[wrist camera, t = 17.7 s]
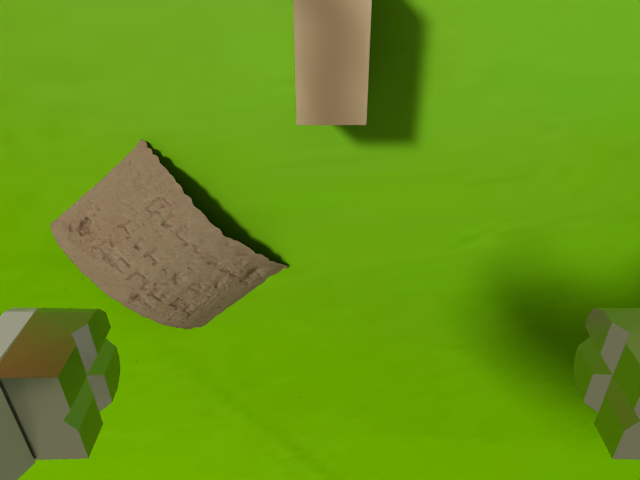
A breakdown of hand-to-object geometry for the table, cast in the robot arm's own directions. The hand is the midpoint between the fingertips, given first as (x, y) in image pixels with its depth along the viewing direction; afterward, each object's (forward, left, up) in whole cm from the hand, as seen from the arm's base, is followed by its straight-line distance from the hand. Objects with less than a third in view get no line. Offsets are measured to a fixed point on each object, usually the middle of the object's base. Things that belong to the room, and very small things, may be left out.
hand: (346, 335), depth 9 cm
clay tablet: (+11, +14, -25) cm, 31 cm away
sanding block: (0, 0, -24) cm, 24 cm away
